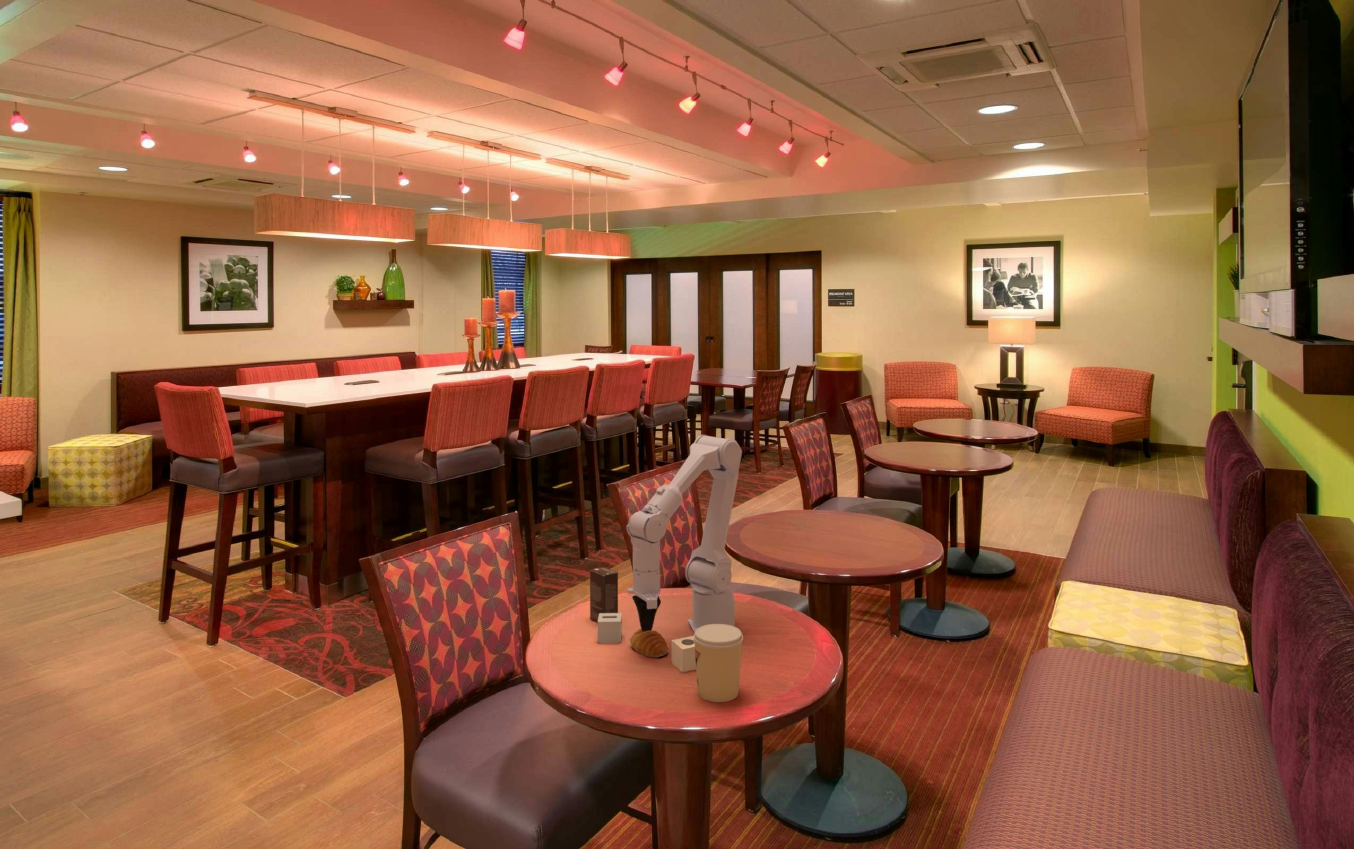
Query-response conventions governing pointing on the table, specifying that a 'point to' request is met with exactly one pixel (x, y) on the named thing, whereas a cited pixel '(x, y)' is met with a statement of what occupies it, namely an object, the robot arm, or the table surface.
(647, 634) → the pastry
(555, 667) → the table surface
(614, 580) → the box
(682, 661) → the marked block cream
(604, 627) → the marked block grey
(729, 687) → the coffee cup
